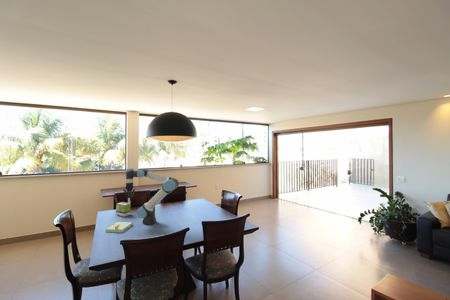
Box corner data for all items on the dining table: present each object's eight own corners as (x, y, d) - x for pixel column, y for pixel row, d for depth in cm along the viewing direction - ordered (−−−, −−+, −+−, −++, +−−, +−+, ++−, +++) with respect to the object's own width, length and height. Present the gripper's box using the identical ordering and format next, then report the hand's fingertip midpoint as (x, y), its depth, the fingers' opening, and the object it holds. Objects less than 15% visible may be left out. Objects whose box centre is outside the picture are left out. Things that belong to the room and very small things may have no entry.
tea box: (115, 214, 268) (115, 203, 268) (122, 212, 277) (122, 201, 277) (123, 216, 261) (124, 204, 262) (130, 214, 271) (130, 203, 271)
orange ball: (119, 228, 215) (119, 224, 215) (117, 229, 211) (117, 226, 211) (115, 228, 215) (115, 224, 215) (113, 229, 211) (114, 225, 211)
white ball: (116, 228, 224) (119, 226, 224) (114, 229, 220) (117, 227, 220) (115, 225, 224) (118, 223, 224) (113, 226, 221) (116, 225, 220)
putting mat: (132, 225, 233) (132, 222, 233) (122, 232, 211) (122, 229, 211) (117, 224, 233) (117, 221, 234) (105, 231, 211) (105, 229, 212)
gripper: (136, 181, 236) (136, 202, 235) (124, 181, 235) (124, 202, 235) (134, 182, 228) (133, 204, 228) (122, 182, 227) (121, 204, 227)
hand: (129, 203), depth 231 cm, fingers closed
